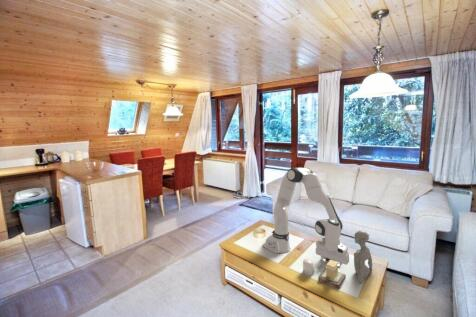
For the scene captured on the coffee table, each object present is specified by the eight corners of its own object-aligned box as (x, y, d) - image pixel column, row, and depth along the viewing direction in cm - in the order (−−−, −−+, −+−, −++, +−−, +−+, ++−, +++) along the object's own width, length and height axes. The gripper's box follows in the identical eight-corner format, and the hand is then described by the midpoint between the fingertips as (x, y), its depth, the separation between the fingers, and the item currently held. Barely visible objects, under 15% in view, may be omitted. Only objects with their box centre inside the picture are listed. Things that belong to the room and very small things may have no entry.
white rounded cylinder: (301, 273, 163) (301, 262, 162) (305, 268, 169) (305, 257, 167) (311, 276, 159) (311, 265, 158) (315, 271, 164) (315, 260, 163)
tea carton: (326, 276, 154) (326, 264, 153) (329, 270, 160) (330, 259, 159) (334, 279, 151) (334, 267, 150) (337, 273, 157) (338, 262, 155)
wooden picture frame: (318, 280, 155) (318, 276, 154) (325, 270, 165) (325, 266, 164) (339, 288, 147) (339, 284, 146) (345, 278, 157) (345, 273, 156)
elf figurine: (358, 263, 172) (361, 223, 168) (373, 268, 165) (376, 227, 161) (346, 278, 157) (348, 234, 152) (362, 285, 150) (364, 239, 145)
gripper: (314, 241, 156) (313, 261, 158) (347, 252, 143) (346, 273, 145) (318, 238, 161) (317, 257, 163) (350, 248, 148) (349, 268, 150)
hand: (331, 265), depth 154 cm, fingers open, 8 cm apart
